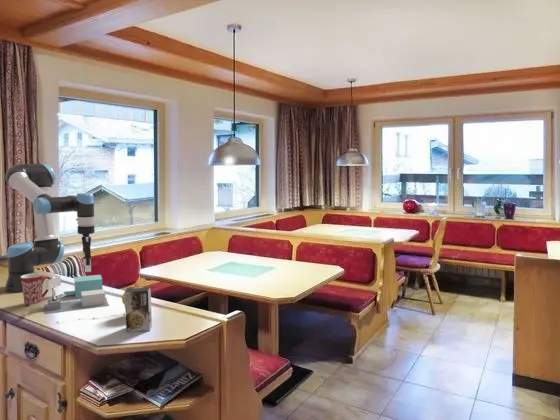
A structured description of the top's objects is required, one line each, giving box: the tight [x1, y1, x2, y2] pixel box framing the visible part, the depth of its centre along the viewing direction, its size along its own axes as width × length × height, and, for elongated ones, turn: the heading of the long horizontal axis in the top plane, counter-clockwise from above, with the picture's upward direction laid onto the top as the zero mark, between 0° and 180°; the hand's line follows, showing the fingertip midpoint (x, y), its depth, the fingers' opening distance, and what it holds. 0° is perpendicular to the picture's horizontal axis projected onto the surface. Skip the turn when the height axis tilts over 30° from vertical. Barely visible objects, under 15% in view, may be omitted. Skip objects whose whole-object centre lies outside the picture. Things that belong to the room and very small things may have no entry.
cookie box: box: [124, 286, 153, 333], centre depth 177 cm, size 9×6×16 cm
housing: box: [43, 289, 110, 315], centre depth 203 cm, size 15×26×6 cm, turn 116°
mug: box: [21, 272, 51, 307], centre depth 209 cm, size 13×9×14 cm
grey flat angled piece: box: [44, 275, 67, 300], centre depth 200 cm, size 2×11×10 cm, turn 170°
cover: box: [63, 274, 103, 299], centre depth 220 cm, size 10×17×9 cm, turn 116°
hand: (87, 268), depth 220 cm, fingers open, 13 cm apart
